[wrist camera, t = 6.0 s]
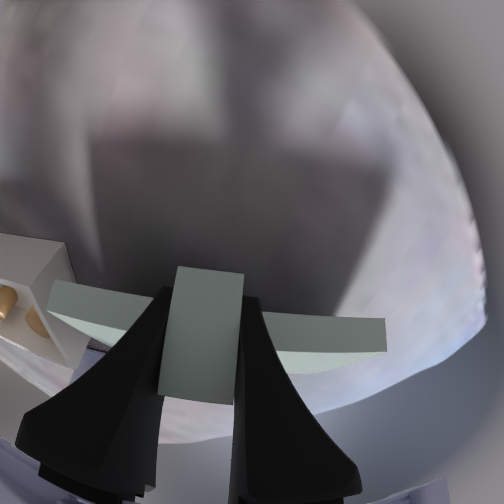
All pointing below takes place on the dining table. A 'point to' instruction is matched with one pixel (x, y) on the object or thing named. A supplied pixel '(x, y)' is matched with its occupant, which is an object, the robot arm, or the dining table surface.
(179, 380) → the lid
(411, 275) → the dining table surface
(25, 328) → the tub
